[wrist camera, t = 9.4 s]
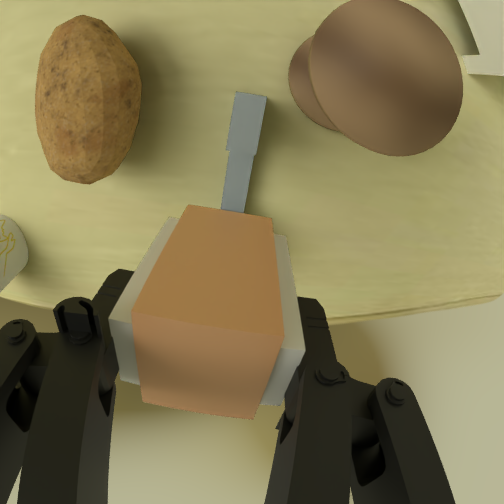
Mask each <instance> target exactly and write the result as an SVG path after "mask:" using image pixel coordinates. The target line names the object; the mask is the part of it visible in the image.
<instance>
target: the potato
mask: <svg viewBox="0 0 504 504" xmlns="http://www.w3.org/2000/svg"><path fill="white" fill-rule="evenodd" d="M141 89H142V82H141V79H140V76H139V70H138V65H137V63H136V62H135V61H134V59H133V58H132V56H131V55H130V53H129V52H128V50H127V49H126V47H125V46H124V45H123V43H122V42H121V40H120V39H119V37H118V36H117V35H116V33H115V32H114V31H113V30H112V29H111V28H110V27H108V26H107V25H106V24H105V23H104V22H103V21H102V20H99V19H96V18H92V17H89V16H86V15H80V16H76V17H74V18H73V19H71V20H69V21H67V22H65V23H63V24H61V25H59V26H58V27H56V28H55V30H54V31H53V33H52V35H51V37H50V39H49V40H48V42H47V44H46V46H45V48H44V49H43V51H42V53H41V56H40V62H39V67H38V74H37V83H36V94H35V115H36V124H37V133H38V136H39V139H40V141H41V144H42V148H43V151H44V154H45V156H46V159H47V162H48V164H49V167H50V169H51V170H52V171H53V172H55V173H56V174H57V175H59V176H60V177H61V178H62V179H64V180H67V181H72V182H77V183H82V184H92V183H94V182H96V181H98V180H100V179H103V178H105V177H107V176H109V175H112V174H113V173H114V171H115V170H116V169H117V168H118V167H119V166H120V164H121V162H122V161H123V159H124V157H125V156H126V154H127V153H128V151H129V150H130V148H131V145H132V141H133V137H134V133H135V130H136V126H137V123H138V121H139V112H140V104H141Z"/></svg>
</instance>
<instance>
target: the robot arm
mask: <svg viewBox="0 0 504 504" xmlns="http://www.w3.org/2000/svg"><path fill="white" fill-rule="evenodd" d="M178 221H179V218H172V217H169V218H168V219H167V221H166V222H165V224H164V225H163V227H162V228H161V230H160V231H159V233H158V235H157V236H156V238H155V239H154V241H153V243H152V244H151V246H150V247H149V249H148V251H147V252H146V254H145V255H144V257H143V259H142V260H141V262H140V264H139V265H138V267H137V269H136V270H135V272H134V271H129V270H124V269H118V270H116V271H115V272H113V273H112V274H110V275H109V276H108V277H107V279H106V280H105V282H104V283H103V286H101V288H100V289H99V291H98V293H97V294H96V295H95V297H94V298H93V300H92V301H91V300H90V299H87V298H83V297H72V298H68V299H65V300H63V301H62V302H60V303H59V304H57V305H56V307H55V308H54V309H53V312H54V316H55V319H56V322H57V326H58V329H59V332H58V333H37V332H36V330H35V328H34V326H33V324H32V323H30V322H29V321H28V320H23V319H18V320H13V321H10V322H8V323H7V324H6V325H4V326H3V327H2V328H1V329H0V504H6V503H7V501H8V498H9V496H10V493H11V491H12V488H13V486H14V483H15V481H16V479H17V476H18V474H19V472H20V469H21V467H22V470H21V477H20V484H19V492H18V500H17V504H107V503H108V472H109V471H108V470H109V456H110V442H111V431H112V421H113V412H114V404H115V396H116V386H115V382H114V381H115V379H116V376H117V373H118V371H119V374H120V378H121V380H122V381H127V382H131V383H134V384H139V385H140V381H139V375H138V368H137V361H136V354H135V346H134V337H133V328H132V317H131V310H132V308H133V306H134V304H135V302H136V300H137V298H138V296H139V294H140V292H141V290H142V288H143V286H144V284H145V282H146V280H147V278H148V276H149V274H150V272H151V271H152V269H153V267H154V265H155V263H156V261H157V259H158V257H159V255H160V254H161V252H162V250H163V248H164V246H165V244H166V243H167V241H168V239H169V237H170V235H171V234H172V232H173V230H174V228H175V226H176V225H177V223H178ZM274 242H275V251H276V259H277V268H278V277H279V287H280V296H281V306H282V315H283V325H284V335H285V337H284V340H283V343H282V345H281V348H280V351H279V354H278V356H277V359H276V362H275V365H274V367H273V370H272V373H271V375H270V378H269V381H268V383H267V386H266V389H265V391H264V394H263V396H262V399H261V401H260V404H265V405H278V406H280V405H281V403H282V401H283V399H284V398H285V411H284V413H283V414H282V416H281V418H280V420H279V422H278V424H277V426H276V429H278V430H279V433H278V438H277V444H276V450H275V454H274V460H273V465H272V470H271V475H270V480H269V484H268V489H267V494H266V499H265V503H264V504H349V497H350V487H351V491H352V496H353V501H354V504H455V501H454V498H453V494H452V491H451V488H450V486H449V482H448V479H447V476H446V474H445V471H444V468H443V465H442V463H441V460H440V457H439V454H438V452H437V449H436V446H435V444H434V441H433V439H432V436H431V433H430V431H429V429H428V426H427V424H426V421H425V419H424V416H423V414H422V411H421V409H420V407H419V405H418V402H417V400H416V397H415V395H414V393H413V391H412V390H411V388H410V387H409V386H408V385H407V384H406V383H404V382H403V381H401V380H398V379H396V378H386V379H383V380H381V381H380V382H379V383H378V384H377V386H374V385H370V384H367V383H363V382H360V381H357V380H355V379H353V378H351V377H350V376H349V373H348V371H347V370H346V369H345V367H344V366H342V365H341V364H340V363H339V362H337V359H336V355H335V351H334V347H333V343H332V339H331V335H330V331H329V330H328V328H329V327H328V323H327V321H326V315H325V312H324V308H323V307H322V306H321V305H320V303H319V302H318V301H317V300H316V299H311V298H304V297H297V294H296V289H295V283H294V277H293V272H292V266H291V260H290V255H289V249H288V244H287V239H286V236H285V235H279V234H274Z"/></svg>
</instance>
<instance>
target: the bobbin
mask: <svg viewBox="0 0 504 504" xmlns="http://www.w3.org/2000/svg"><path fill="white" fill-rule="evenodd" d="M289 86H290V90H291V93H292V96H293V98H294V100H295V102H296V103H297V105H298V107H299V108H300V109H301V110H302V112H303V113H304V114H305V115H306V116H308V117H309V118H310V119H311V120H313V121H314V122H316V123H318V124H319V125H322V126H324V127H326V128H328V129H332V130H335V131H340V132H341V133H342V134H344V135H345V136H346V137H348V138H349V139H351V140H352V141H354V142H355V143H357V144H359V145H361V146H363V147H365V148H367V149H369V150H371V151H374V152H377V153H380V154H384V155H389V156H409V155H415V154H418V153H421V152H424V151H426V150H428V149H430V148H432V147H433V146H435V145H436V144H438V143H439V142H440V141H441V140H442V139H443V138H444V137H445V136H446V135H447V134H448V133H449V131H450V130H451V129H452V127H453V125H454V123H455V122H456V119H457V117H458V115H459V112H460V108H461V104H462V97H463V80H462V73H461V68H460V64H459V61H458V58H457V56H456V53H455V51H454V49H453V47H452V45H451V43H450V42H449V40H448V38H447V37H446V36H445V34H444V33H443V32H442V30H441V29H440V28H439V27H438V26H437V25H436V24H435V23H434V22H433V21H432V20H431V19H430V18H429V17H428V16H427V15H425V14H424V13H422V12H421V11H419V10H418V9H416V8H415V7H413V6H411V5H409V4H407V3H404V2H402V1H399V0H351V1H349V2H347V3H345V4H343V5H341V6H339V7H338V8H337V9H335V10H334V11H333V12H332V13H331V14H330V15H329V16H328V17H327V18H326V19H325V20H324V21H323V22H322V23H321V25H320V26H319V28H318V29H317V31H316V33H315V35H313V36H312V37H310V38H309V39H307V40H306V41H305V42H304V43H303V44H302V45H301V46H300V47H299V48H298V49H297V51H296V52H295V54H294V56H293V58H292V60H291V63H290V67H289Z"/></svg>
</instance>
